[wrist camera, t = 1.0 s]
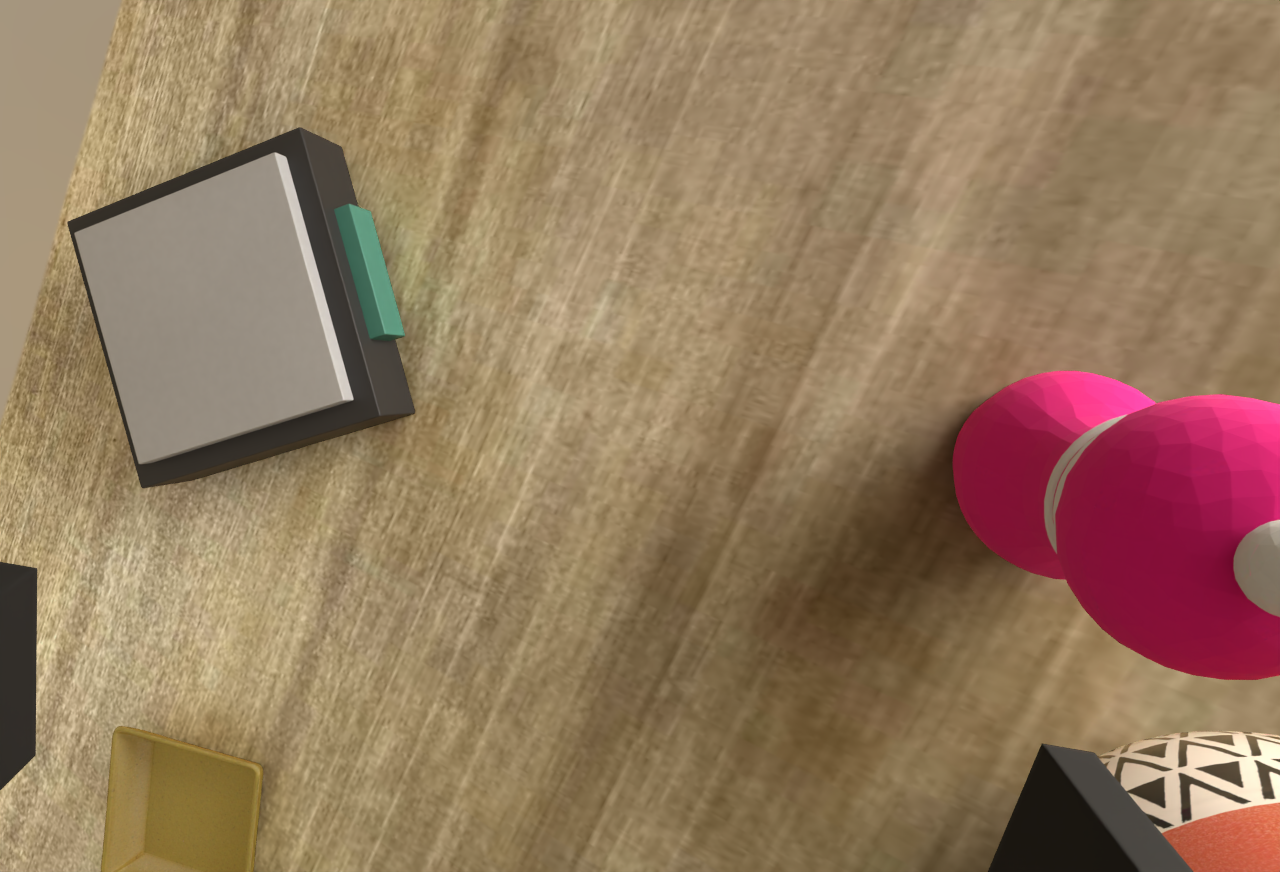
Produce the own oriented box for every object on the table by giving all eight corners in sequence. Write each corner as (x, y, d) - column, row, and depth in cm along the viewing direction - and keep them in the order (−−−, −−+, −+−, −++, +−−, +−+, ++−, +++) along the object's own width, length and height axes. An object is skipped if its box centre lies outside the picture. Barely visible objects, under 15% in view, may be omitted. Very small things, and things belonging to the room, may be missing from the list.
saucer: (130, 861, 45) (97, 884, 42) (144, 708, 44) (110, 724, 42) (270, 907, 43) (243, 933, 41) (288, 748, 42) (260, 767, 40)
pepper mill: (1117, 565, 33) (1538, 839, 13) (927, 536, 34) (1053, 743, 15) (1149, 383, 32) (1643, 390, 13) (953, 361, 34) (1123, 338, 14)
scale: (356, 140, 39) (304, 113, 35) (431, 408, 39) (386, 412, 35) (122, 233, 42) (50, 218, 38) (191, 480, 42) (127, 491, 38)
